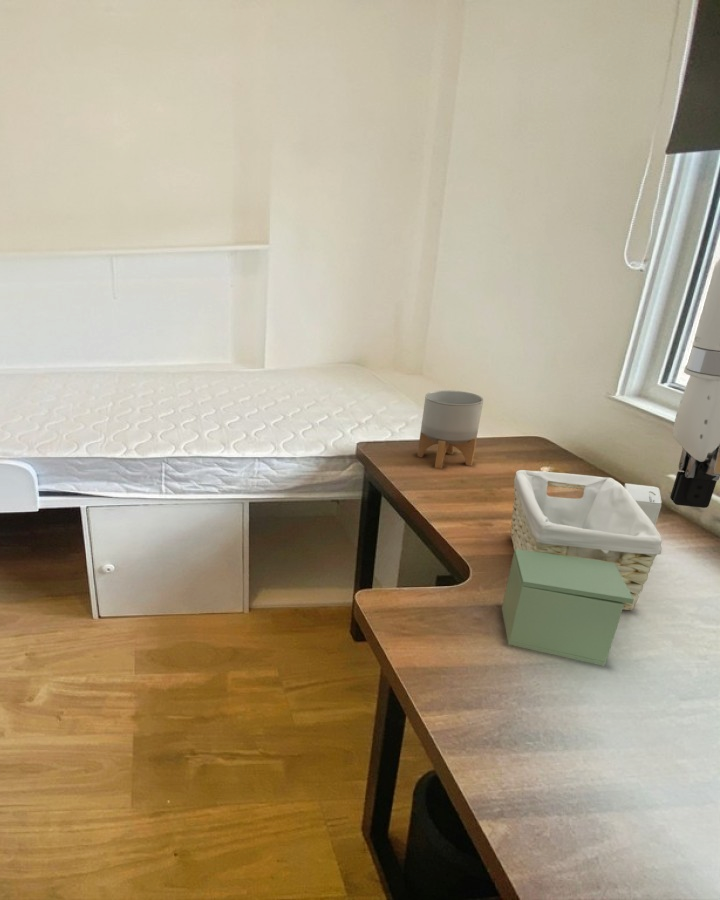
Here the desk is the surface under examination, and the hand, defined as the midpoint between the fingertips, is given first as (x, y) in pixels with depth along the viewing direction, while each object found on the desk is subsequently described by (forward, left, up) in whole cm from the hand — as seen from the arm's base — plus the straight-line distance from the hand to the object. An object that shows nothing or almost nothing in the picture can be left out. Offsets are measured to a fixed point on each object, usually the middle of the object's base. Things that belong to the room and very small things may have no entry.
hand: (688, 503), depth 70 cm
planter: (+23, -72, -26) cm, 80 cm away
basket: (+5, -23, -26) cm, 35 cm away
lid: (+9, -2, -15) cm, 18 cm away
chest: (+10, -2, -26) cm, 28 cm away
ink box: (-7, -36, -26) cm, 45 cm away
